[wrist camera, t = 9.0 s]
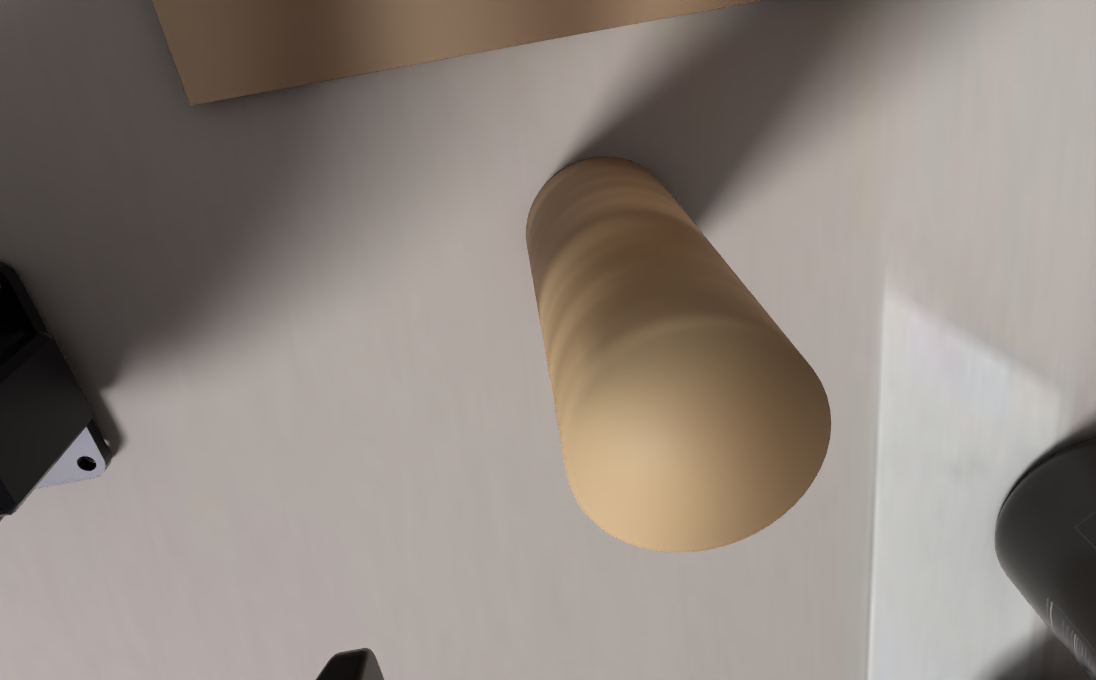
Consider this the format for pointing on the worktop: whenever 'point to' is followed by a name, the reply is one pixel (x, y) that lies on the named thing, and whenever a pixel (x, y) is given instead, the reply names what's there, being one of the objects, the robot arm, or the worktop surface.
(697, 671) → the worktop surface
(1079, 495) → the supplement bottle
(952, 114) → the worktop surface
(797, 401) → the dowel
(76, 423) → the robot arm
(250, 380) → the worktop surface
